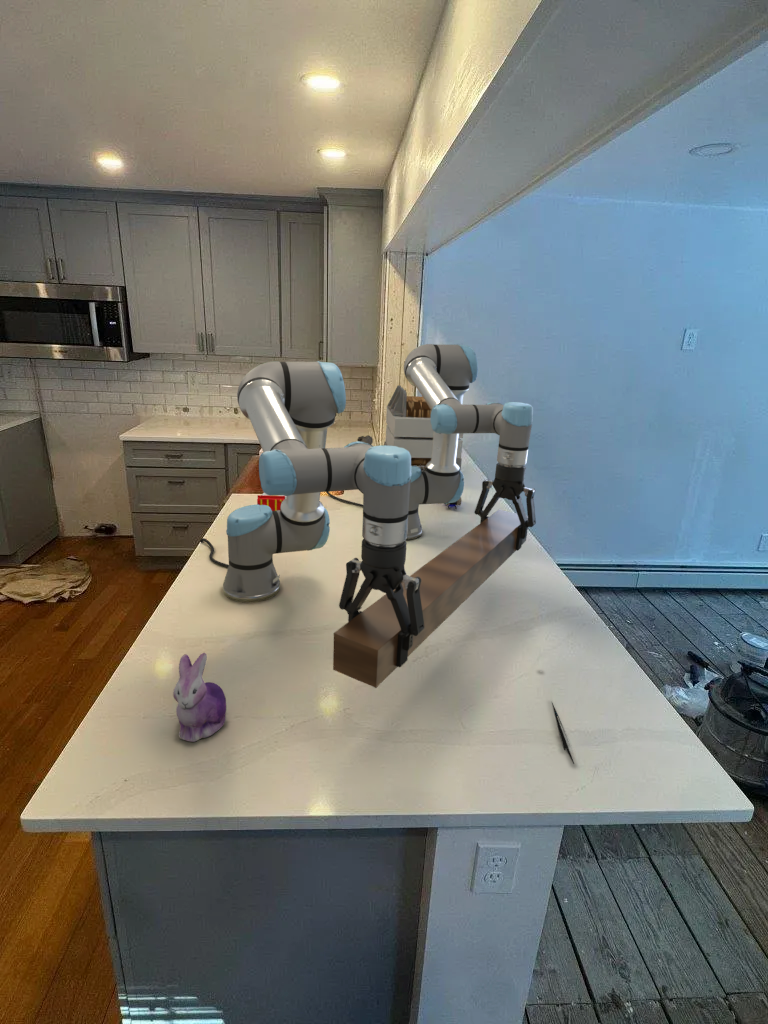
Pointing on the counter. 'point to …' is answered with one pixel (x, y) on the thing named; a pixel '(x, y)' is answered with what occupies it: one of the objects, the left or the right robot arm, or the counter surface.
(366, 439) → the fossil
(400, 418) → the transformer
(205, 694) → the figurine
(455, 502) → the figurine character
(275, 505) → the toy
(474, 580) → the long beam
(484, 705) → the counter surface
